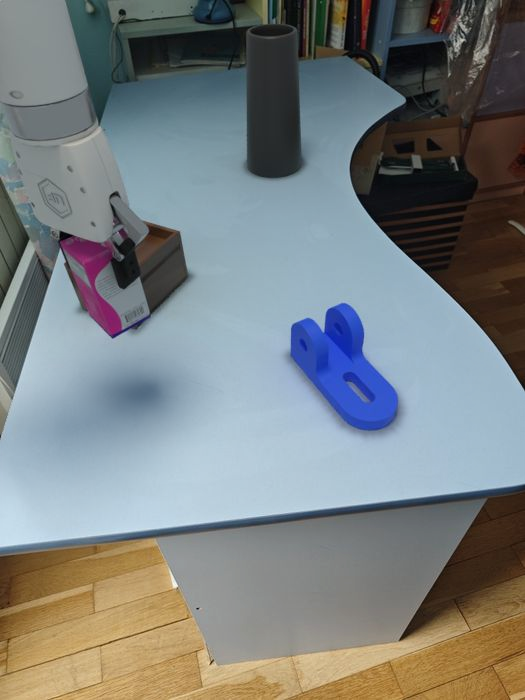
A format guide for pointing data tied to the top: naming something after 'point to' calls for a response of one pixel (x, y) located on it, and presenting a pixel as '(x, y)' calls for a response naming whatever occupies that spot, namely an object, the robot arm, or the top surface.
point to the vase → (273, 100)
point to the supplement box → (105, 286)
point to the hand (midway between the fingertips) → (104, 271)
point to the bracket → (343, 368)
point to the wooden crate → (155, 266)
